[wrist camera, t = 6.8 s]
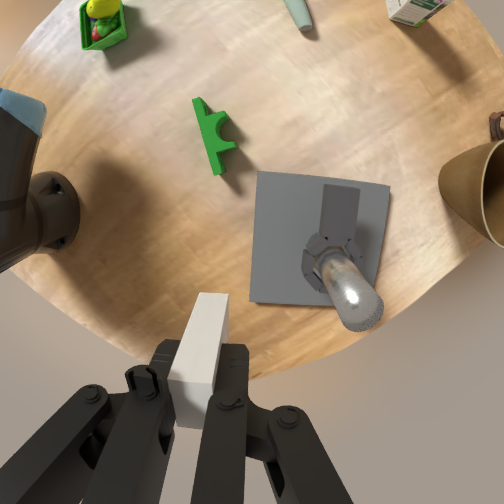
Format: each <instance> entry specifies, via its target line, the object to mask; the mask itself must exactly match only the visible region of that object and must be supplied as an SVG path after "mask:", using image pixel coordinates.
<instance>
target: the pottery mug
mask: <svg viewBox="0 0 504 504" xmlns="http://www.w3.org/2000/svg"><path fill="white" fill-rule="evenodd" d="M502 116H503V117H504V111H502V112H499V113H495V112H493V113H492V114H491V115H490V117H489V118H490V128H491V133H492V136H493V138H495V141H499V140H503V137H502V135H501V132H500V121H501V118H500V117H502Z"/></svg>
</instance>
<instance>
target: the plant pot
mask: <svg viewBox="0 0 504 504" xmlns="http://www.w3.org/2000/svg"><path fill="white" fill-rule="evenodd" d="M438 184H439V189H440V192H441V194H442V196H443V198H444V199H445V200H446V201H447V202H448V204H449V205H450V206H451V207H452V208H453V209H454V210H455V211H456V212H457V213H458V214H459V215H460V216H461V217H462V218H463V219H464V220H465V221H466V222H467V223H469V224H470V225H471V226H472V227H473V228H475V229H476V230H477V231H478V232H480V233H481V234H482V235H484V236H485V237H486V238H488V239H489V240H490V241H492V242H493V243H495V244H496V245H497V246H499V247H501V248H503V249H504V139H503V140H499V141H495V142H491V143H487V144H483V145H480V146H477V147H475V148H472V149H470V150H468V151H466V152H464V153H462V154H460V155H458V156H456V157H455V158H453V159H452V160H450V161H449V162H447V163H446V164H445V165H444V166H443V167H442V169H441V171H440V174H439V179H438Z"/></svg>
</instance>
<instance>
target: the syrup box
mask: <svg viewBox="0 0 504 504" xmlns="http://www.w3.org/2000/svg"><path fill="white" fill-rule="evenodd" d="M452 1H454V0H386V4H387V9H388V14H389V19H390V20H394V21H397V22H400V23H404V24H407V25H410V26H414V27H419V26H420V25H421V24H422V23H424V22H425V21H426V20H428V19H429V18H430V17H432V16H433V15H434V14H436V13H437V12H438V11H440V10H441V9H443V8H444V7H445V6H447V5H448V4H450V3H451V2H452Z"/></svg>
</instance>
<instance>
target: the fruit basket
mask: <svg viewBox="0 0 504 504" xmlns="http://www.w3.org/2000/svg"><path fill="white" fill-rule="evenodd" d="M79 11H80V31H81V43H82V44H81V45H82V49H83V50H104V49H106V48H107V47H110V46H112V45H114V44H116V43H118V42H120V41H121V40H124V39H126V38H127V31H126V24H125V21H124V12H123V4H122V1H121V0H88V1H87V2H85V3H84V4H82V5H81V6H80V9H79Z"/></svg>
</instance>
